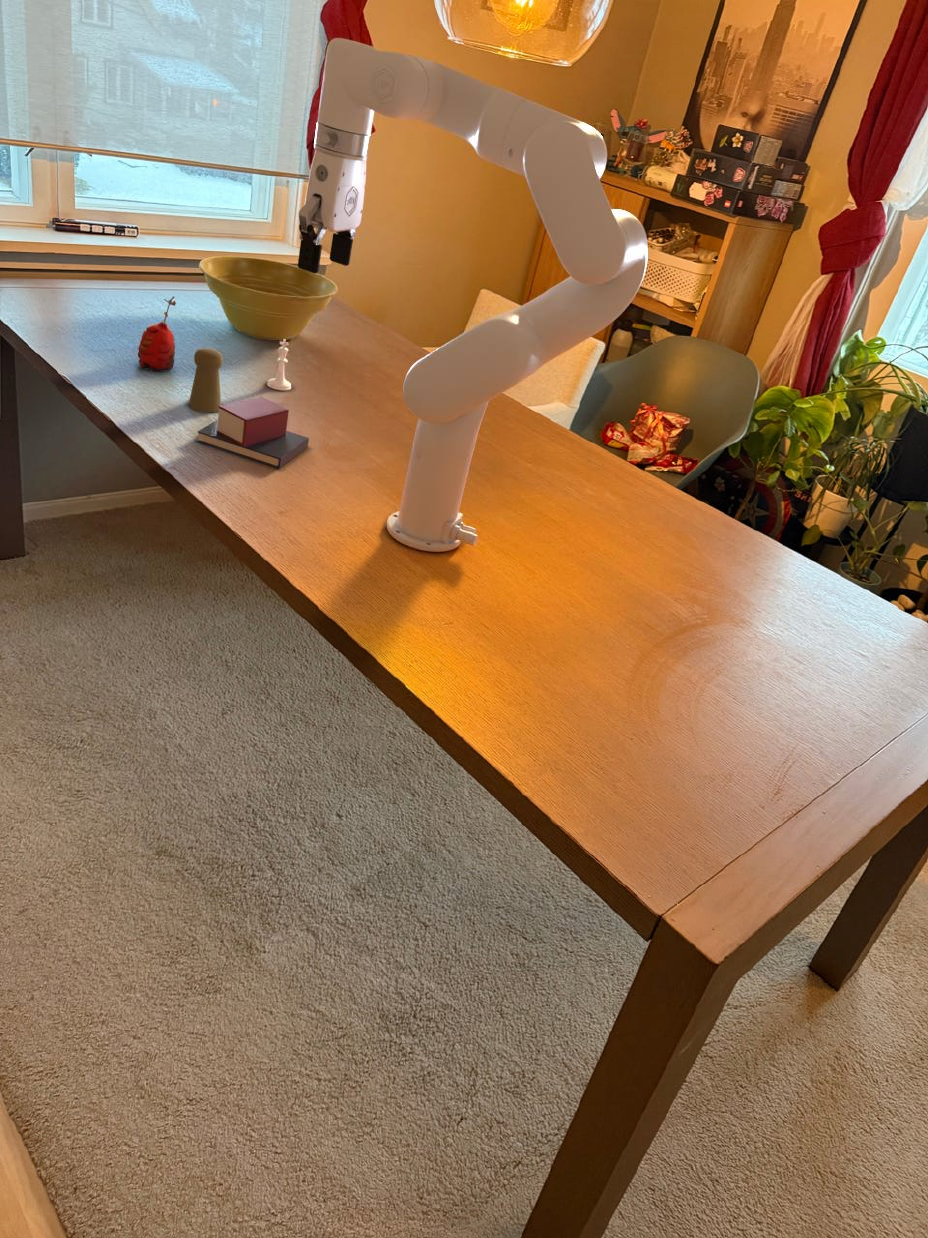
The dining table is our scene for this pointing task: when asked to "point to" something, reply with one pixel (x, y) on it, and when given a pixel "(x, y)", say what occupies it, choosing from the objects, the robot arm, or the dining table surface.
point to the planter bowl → (266, 294)
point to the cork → (206, 381)
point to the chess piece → (280, 371)
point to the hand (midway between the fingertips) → (323, 266)
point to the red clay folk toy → (157, 346)
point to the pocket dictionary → (252, 421)
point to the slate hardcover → (257, 446)
